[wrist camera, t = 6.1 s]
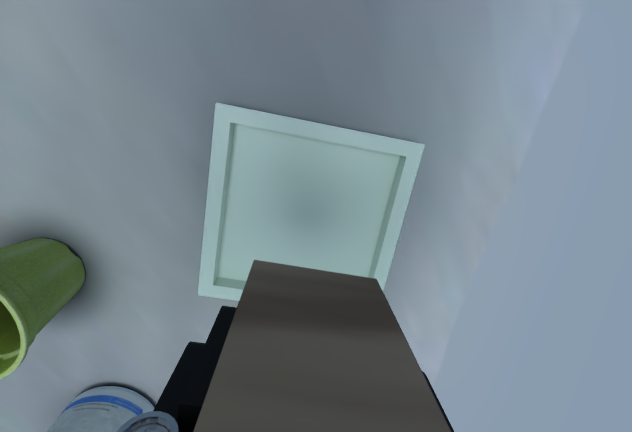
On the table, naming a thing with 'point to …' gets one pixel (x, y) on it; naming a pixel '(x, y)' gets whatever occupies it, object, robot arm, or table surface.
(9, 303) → the plant pot
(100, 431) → the supplement tub
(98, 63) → the table surface
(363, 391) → the walnut block
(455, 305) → the table surface
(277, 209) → the sage tray
